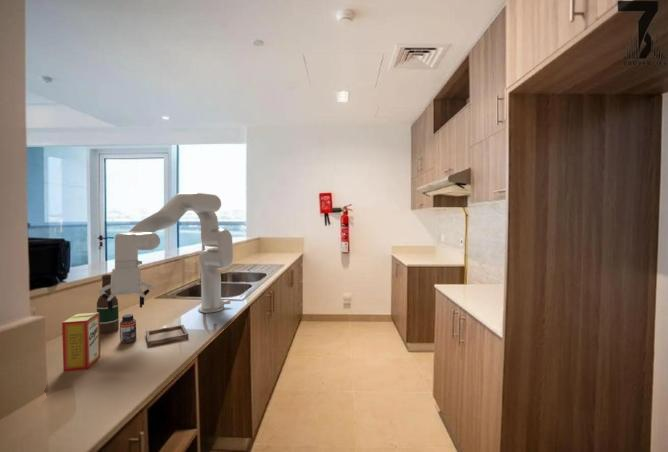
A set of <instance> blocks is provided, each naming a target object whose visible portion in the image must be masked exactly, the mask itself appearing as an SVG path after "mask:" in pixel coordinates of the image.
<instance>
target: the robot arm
mask: <svg viewBox="0 0 668 452" xmlns="http://www.w3.org/2000/svg"><path fill="white" fill-rule="evenodd" d="M221 206H222V201H221V198H220V197H219V196H218V195H216V194H210V193H205V192H204V193H202V192H195V191H194V192H193V191H192V192H191V191H190V192H187V191H186V192H185V191H183V192H179V193H176V194H175V195H174V196H172V197H171V198H170V200H168V202H167V203H165V204H164V205H163V206H162V207H161V208H160V209H159V210H158V211H157V212H155V213H153V214H151V215H149V216H147V217H146V218H144V219H142V220H141V221H139V222H138V223H137V224H135V225H134V226H133V227H131V228H130V230H128V232H120V233H117V234H115V236H114V268H112V270H111V273H110V275H111V284H109V285H107V286H105V287H103V288H102V287H101V288H99V289H98V292H99V294H100V295H102V297H103V298H105V299H106V300H107V301H108V309H110V311H113V300H112V298H113V297H114V296H125V295H133V294H138V295H139V308H143V306H144V305H145V297H146V296H147V295H148V294H149V293H150V291H151V289H152V287H153V284H151V283H148V282H146V281H143V280H142V279H143V278H142V273H141V272H142V271H141V267H140V265H143V261H142V260H138V259H139V258H138V257H139V254H138V253H139V251H153V250H155V249H157V248H158V247H159V246H160V244H161V238H160V237H159V235H158V234H156V232H157V231H161V230H164V229H168V228H170V227H173V226H174V225H176V224H177V222H178V221H179V220H181V218H182V217H183V216H184V215H185V214H186V213H187V212H189V211H190V212H191V211H192V212H194V213H195V214H196V215H197V216H198V218H199V222H200V224H199V225H200V241H201V243H202V245H203V246H205V247H210V248H209V249H208V248H207V249H204V250H202V251H201V252H200V253H199V255H198V263H199V267H200V280H201V281H200V283H201V284H200V285H201V286H200V288H201V289H200V290H201V292H200V293H201V306H199V307H198V309H197V310H198V312H199V313H203V314H204V313H205V314H207V313H208V314H209V313H210V314H211V313H218V312H222V311H223V310H224V309H225V305H231V299H228V300H227V299H224V300H223V299H222V277H221V271H220V269H227V268H230V267H231V266H232V263H233V260H234V259H233V258H234V255H233V254H234V250H233V248H234V247H233V236H232V233H231V232H230V230H228V229H226V228H219V221H218V216H217V214H216V212H218V211H220V209H221V208H222V207H221ZM215 248H217V249H215ZM143 286H144V287H146V289H145V290H144V291H143V290H142V287H143ZM109 288H111V294H110V295H109V296H108V295H107V294H106V293H105V292H104V291H105V290H107V289H109Z"/></svg>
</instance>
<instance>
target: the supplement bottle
mask: <svg viewBox="0 0 668 452" xmlns="http://www.w3.org/2000/svg"><path fill="white" fill-rule="evenodd" d="M121 319H122V320H121V321H120V322H119V335H120V336H119V340H120V343H121V344H131V343H134V342H135V341H136V340H137V320H136V319H135V318H134V314H132V313H131V314H129V313H128V314H124V315H122V317H121Z"/></svg>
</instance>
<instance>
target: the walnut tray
mask: <svg viewBox="0 0 668 452" xmlns="http://www.w3.org/2000/svg"><path fill="white" fill-rule="evenodd" d="M187 330H188V329H186V327H185V326H184V324H180V325H179V324H178V325H173V326H168V327H162V328H156V329H150V330H146V331H145V339H146V343H147V348H149V347H155V346H160V345H165V344H170V343H174V342H180V341H184V340H189V333H188V331H187Z"/></svg>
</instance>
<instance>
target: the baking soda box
mask: <svg viewBox="0 0 668 452" xmlns="http://www.w3.org/2000/svg"><path fill="white" fill-rule="evenodd" d="M61 327H62V328H61V333H62V365H63V366H62V367H63V372H72V371H73V372H74V371H82V370H88V369H89V368H90V367H92V365H94V364H95V362H97V361H98V360H99V358H101V334H100V316H99V312H97V311H95V312H82V313H81V312H80V313H76V314H74V315H73V316H71V317H70V318H67V319H66V320H63V321H62V322H61Z"/></svg>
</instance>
